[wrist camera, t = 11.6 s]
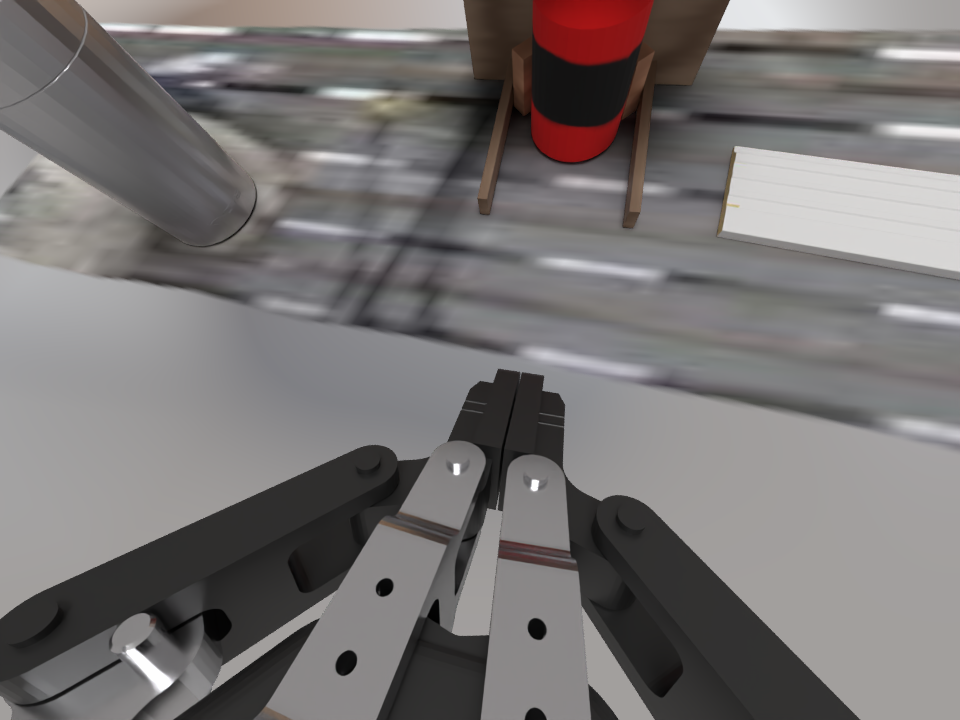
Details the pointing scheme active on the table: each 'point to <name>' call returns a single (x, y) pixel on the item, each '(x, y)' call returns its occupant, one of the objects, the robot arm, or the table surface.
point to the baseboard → (844, 210)
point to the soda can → (582, 72)
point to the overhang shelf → (662, 60)
